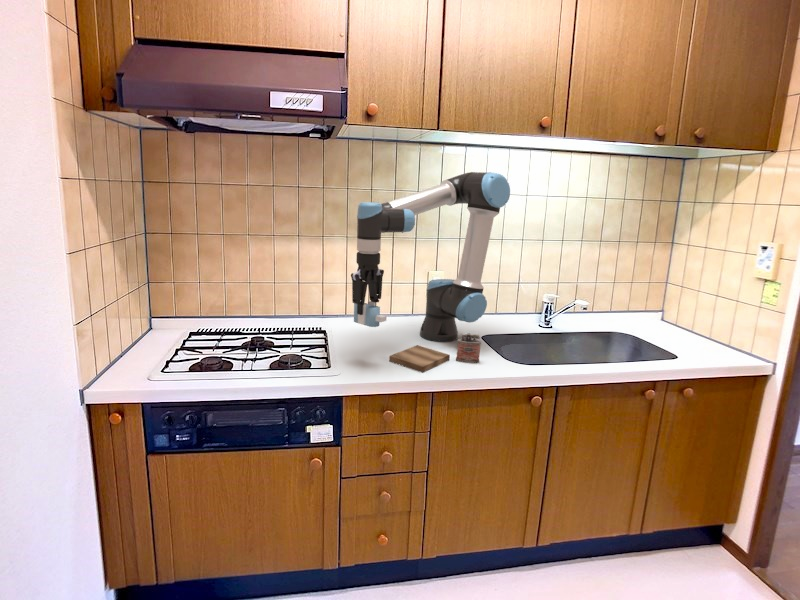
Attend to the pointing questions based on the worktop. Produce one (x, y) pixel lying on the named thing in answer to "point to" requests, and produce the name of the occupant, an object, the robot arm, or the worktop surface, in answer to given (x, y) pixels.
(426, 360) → the walnut board
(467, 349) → the lighter
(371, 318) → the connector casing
